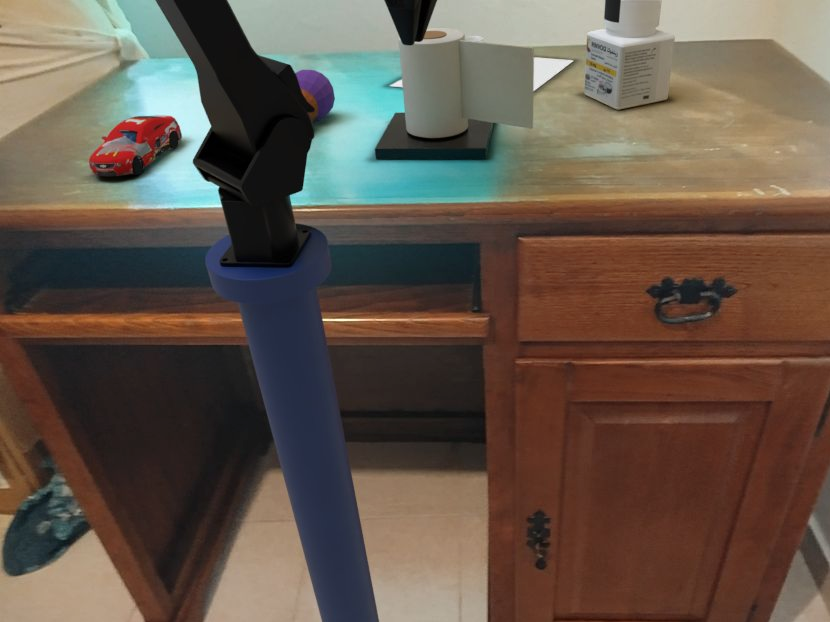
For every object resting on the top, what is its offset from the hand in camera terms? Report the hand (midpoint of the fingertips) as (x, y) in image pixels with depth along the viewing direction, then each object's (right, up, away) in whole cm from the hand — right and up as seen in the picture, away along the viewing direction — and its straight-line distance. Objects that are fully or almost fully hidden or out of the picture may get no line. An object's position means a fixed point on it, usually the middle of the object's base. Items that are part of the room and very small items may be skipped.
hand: (412, 43), depth 67 cm
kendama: (-15, -4, +18) cm, 24 cm away
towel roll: (+5, -4, +15) cm, 16 cm away
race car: (-32, -7, +15) cm, 36 cm away
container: (+25, +4, +26) cm, 36 cm away
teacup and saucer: (+8, +12, +38) cm, 40 cm away
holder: (+2, -4, +16) cm, 17 cm away
